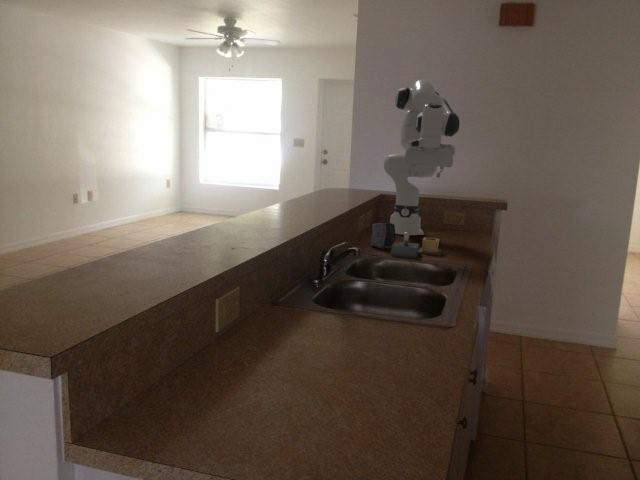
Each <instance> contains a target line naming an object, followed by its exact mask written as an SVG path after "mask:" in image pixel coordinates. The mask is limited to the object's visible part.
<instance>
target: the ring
mask: <svg viewBox="0 0 640 480" xmlns="http://www.w3.org/2000/svg"><path fill="white" fill-rule="evenodd" d="M439 245H440V238H435V237H425V236H424V237H423V238H422V245H421V248H422V252H432V253H437V252H438V250H439V247H440V246H439Z"/></svg>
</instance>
